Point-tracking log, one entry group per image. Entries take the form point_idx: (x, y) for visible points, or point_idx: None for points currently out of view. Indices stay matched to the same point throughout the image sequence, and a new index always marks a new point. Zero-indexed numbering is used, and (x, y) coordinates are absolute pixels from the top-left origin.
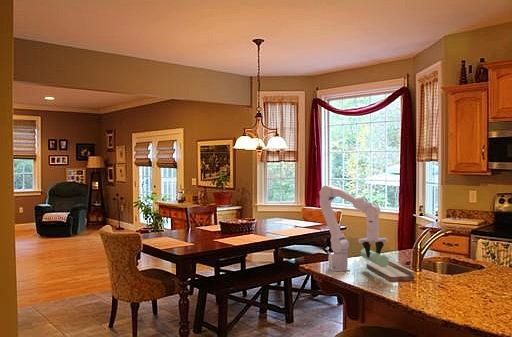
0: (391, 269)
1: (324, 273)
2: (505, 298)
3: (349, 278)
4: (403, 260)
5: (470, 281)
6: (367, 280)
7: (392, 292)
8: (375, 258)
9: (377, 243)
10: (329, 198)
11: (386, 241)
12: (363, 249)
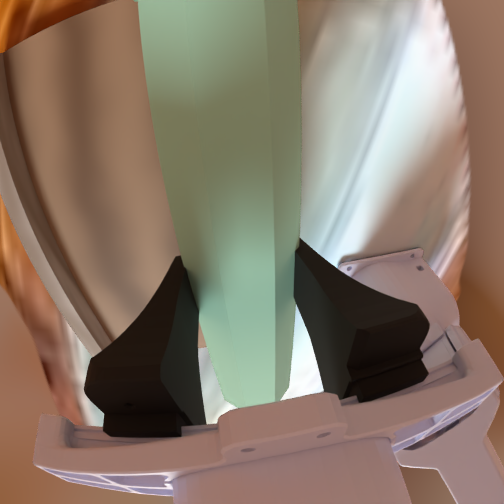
0: (89, 224)
1: (461, 218)
2: None
3: (411, 101)
4: (63, 396)
5: None
6: (324, 28)
7: None
8: (298, 44)
9: (189, 411)
10: None
11: (51, 425)
12: (276, 398)
